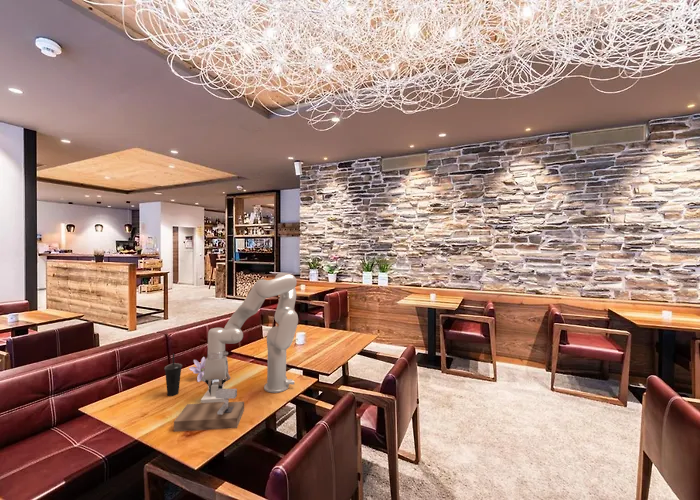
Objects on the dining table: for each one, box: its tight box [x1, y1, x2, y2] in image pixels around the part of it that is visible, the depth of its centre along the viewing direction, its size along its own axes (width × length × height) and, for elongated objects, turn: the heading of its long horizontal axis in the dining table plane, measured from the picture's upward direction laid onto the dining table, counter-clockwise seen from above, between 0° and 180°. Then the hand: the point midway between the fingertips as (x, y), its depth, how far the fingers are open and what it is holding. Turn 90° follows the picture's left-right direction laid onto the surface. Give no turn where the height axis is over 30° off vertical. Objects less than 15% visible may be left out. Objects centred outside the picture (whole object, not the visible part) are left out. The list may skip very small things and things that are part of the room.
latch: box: [216, 388, 238, 414], centre depth 130 cm, size 8×8×8 cm
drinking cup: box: [164, 353, 183, 397], centre depth 155 cm, size 8×8×20 cm
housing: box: [173, 401, 245, 433], centre depth 132 cm, size 24×14×4 cm, turn 97°
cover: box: [200, 380, 224, 403], centre depth 148 cm, size 10×10×6 cm
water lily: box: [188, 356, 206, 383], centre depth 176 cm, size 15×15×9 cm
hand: (215, 393), depth 148 cm, fingers closed on cover, 3 cm apart
